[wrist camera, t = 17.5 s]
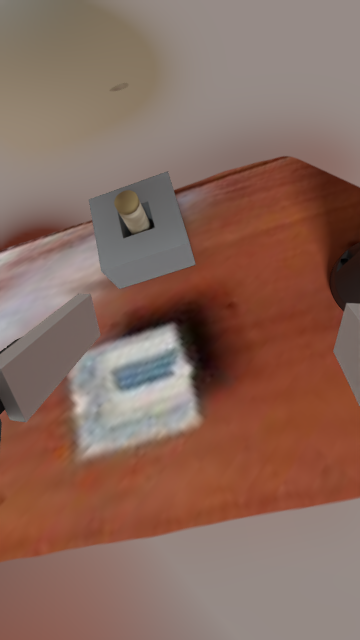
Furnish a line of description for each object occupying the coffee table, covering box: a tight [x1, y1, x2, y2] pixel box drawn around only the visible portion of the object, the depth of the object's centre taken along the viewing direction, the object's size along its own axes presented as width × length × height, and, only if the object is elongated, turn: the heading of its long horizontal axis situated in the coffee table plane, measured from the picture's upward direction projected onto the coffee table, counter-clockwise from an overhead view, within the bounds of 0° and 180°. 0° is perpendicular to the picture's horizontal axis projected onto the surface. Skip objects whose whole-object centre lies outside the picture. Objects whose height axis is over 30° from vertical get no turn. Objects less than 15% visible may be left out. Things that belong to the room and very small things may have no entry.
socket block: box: [89, 172, 195, 289], centre depth 52 cm, size 16×16×8 cm
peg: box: [114, 190, 153, 235], centre depth 49 cm, size 4×4×12 cm
